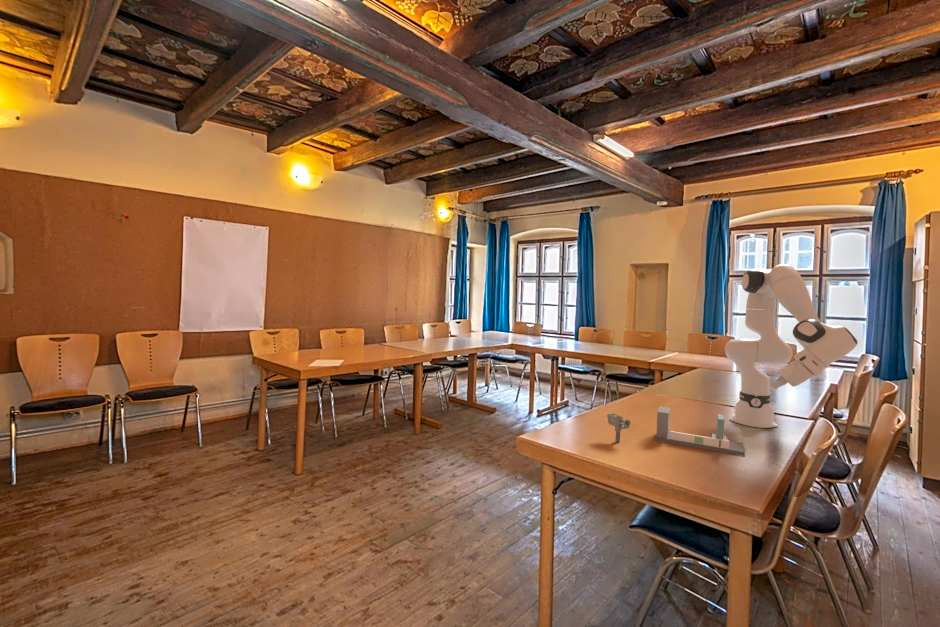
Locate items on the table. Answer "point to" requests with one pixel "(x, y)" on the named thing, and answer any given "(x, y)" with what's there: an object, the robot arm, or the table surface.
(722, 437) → the block
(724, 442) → the bench
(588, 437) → the table surface
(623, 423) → the mechanical component
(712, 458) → the table surface
